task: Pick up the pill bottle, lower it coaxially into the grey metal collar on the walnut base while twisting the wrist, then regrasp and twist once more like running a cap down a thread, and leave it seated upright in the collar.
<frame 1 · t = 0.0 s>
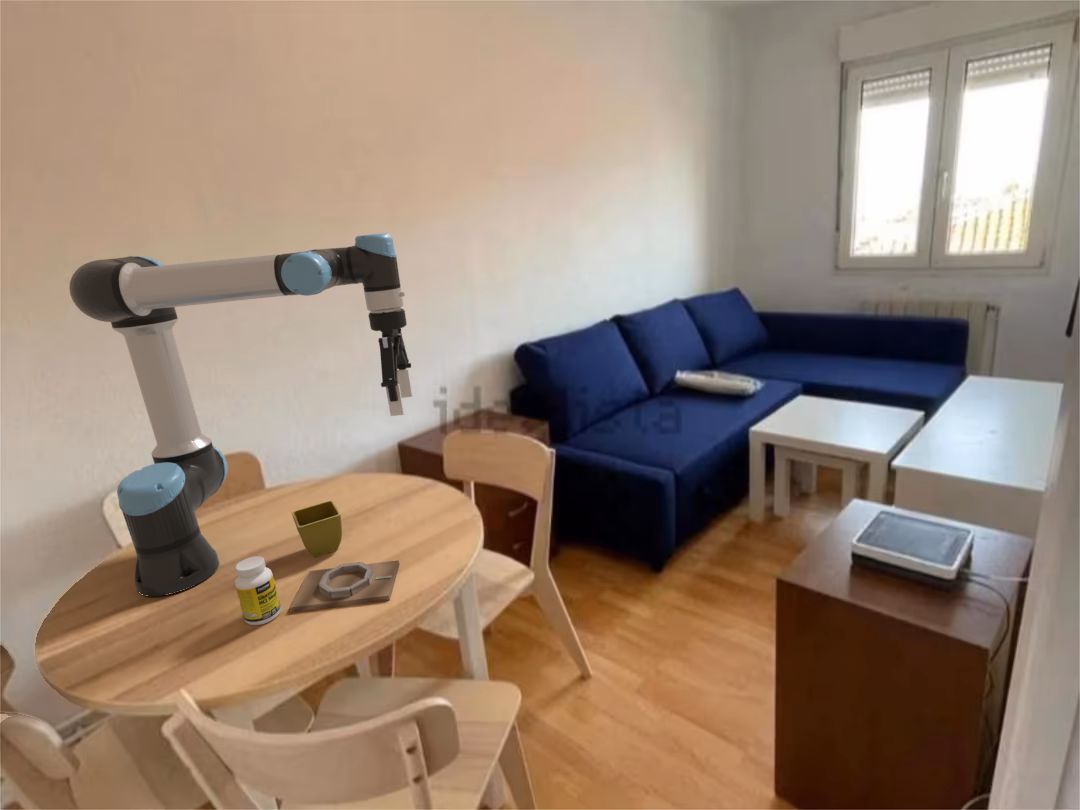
hand: (402, 405, 131), 28 cm above the table, fingers open, 13 cm apart
flower pot: (324, 550, 130), on the table
collar base: (348, 587, 115), on the table
pill bottle: (264, 616, 109), on the table
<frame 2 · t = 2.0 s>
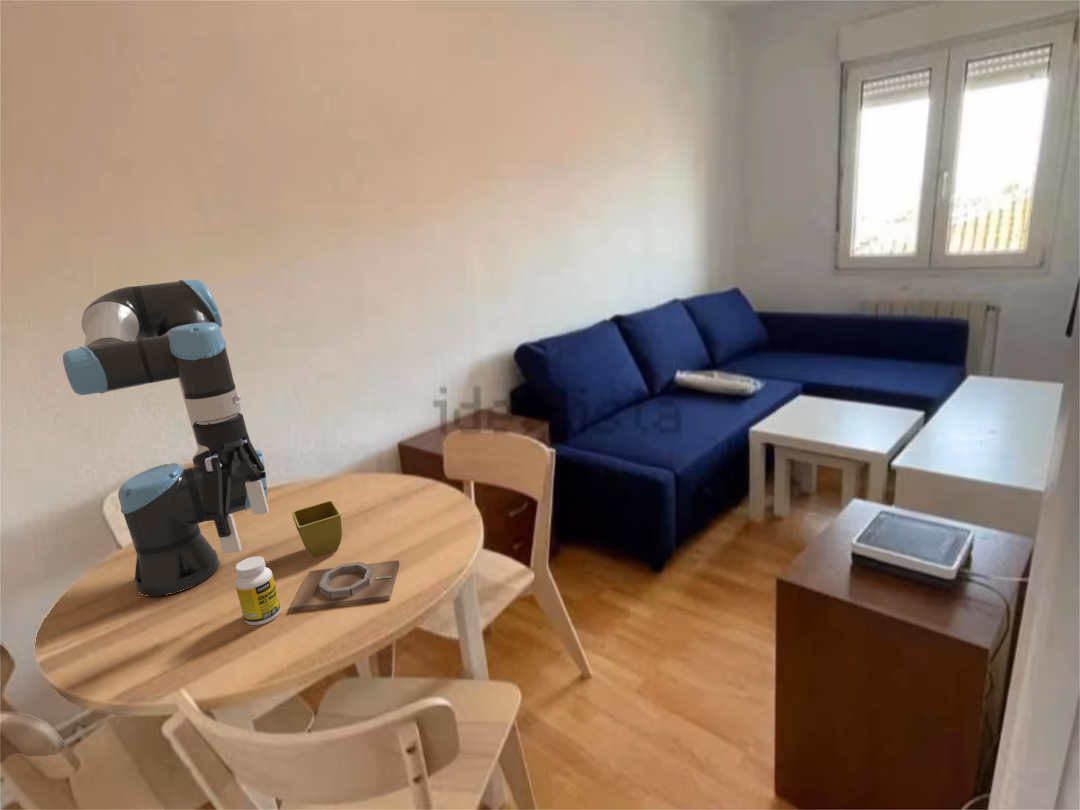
hand: (247, 531, 105), 17 cm above the table, fingers open, 13 cm apart
nothing on the table moved.
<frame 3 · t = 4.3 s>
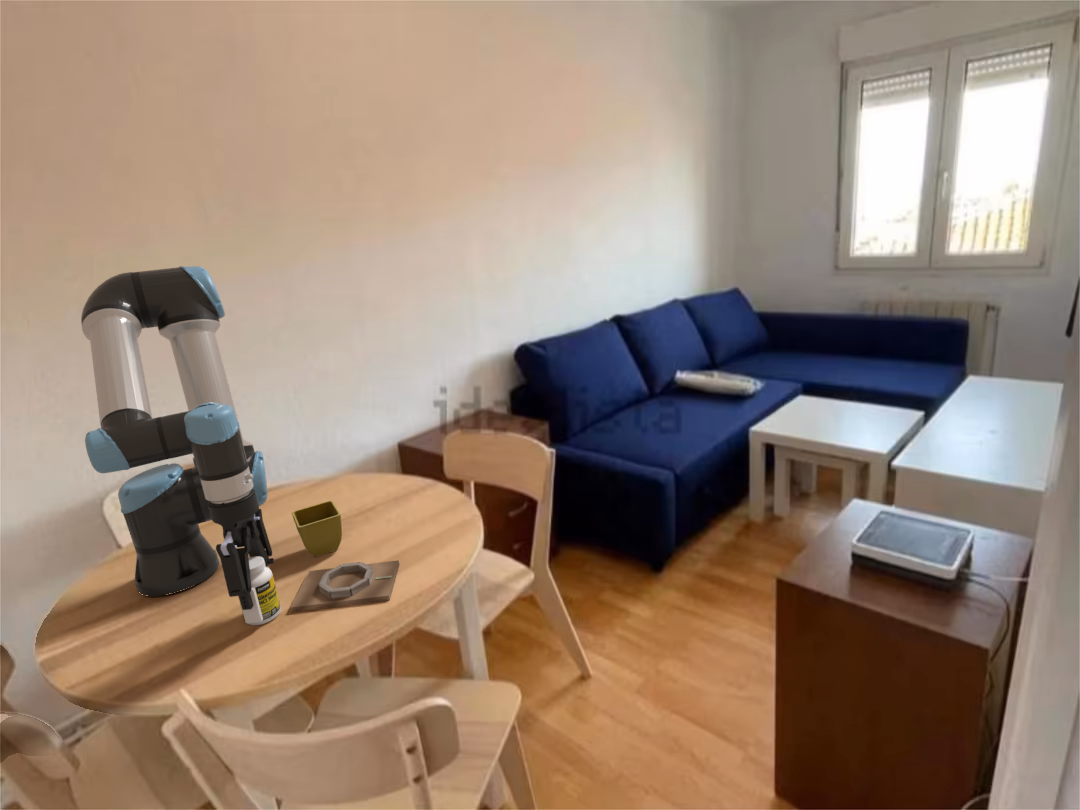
hand: (261, 608, 108), 1 cm above the table, fingers closed on pill bottle, 6 cm apart
pill bottle: (264, 616, 109), on the table, touching gripper
everything else where it was.
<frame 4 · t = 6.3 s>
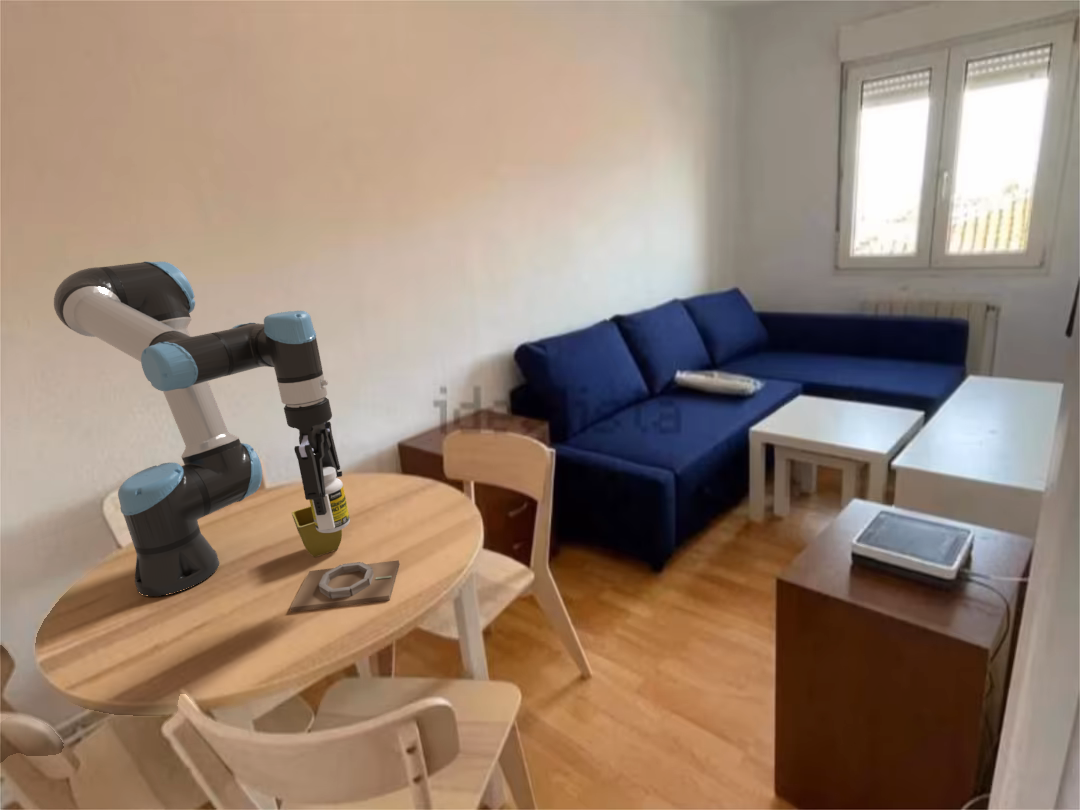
hand: (332, 519, 110), 15 cm above the table, fingers closed on pill bottle, 6 cm apart
pill bottle: (333, 526, 111), point 13 cm above the table, touching gripper
everything else where it was.
when the fingers open (3 cm above the table, at t = 8.4 s): pill bottle stays where it is, resting on collar base.
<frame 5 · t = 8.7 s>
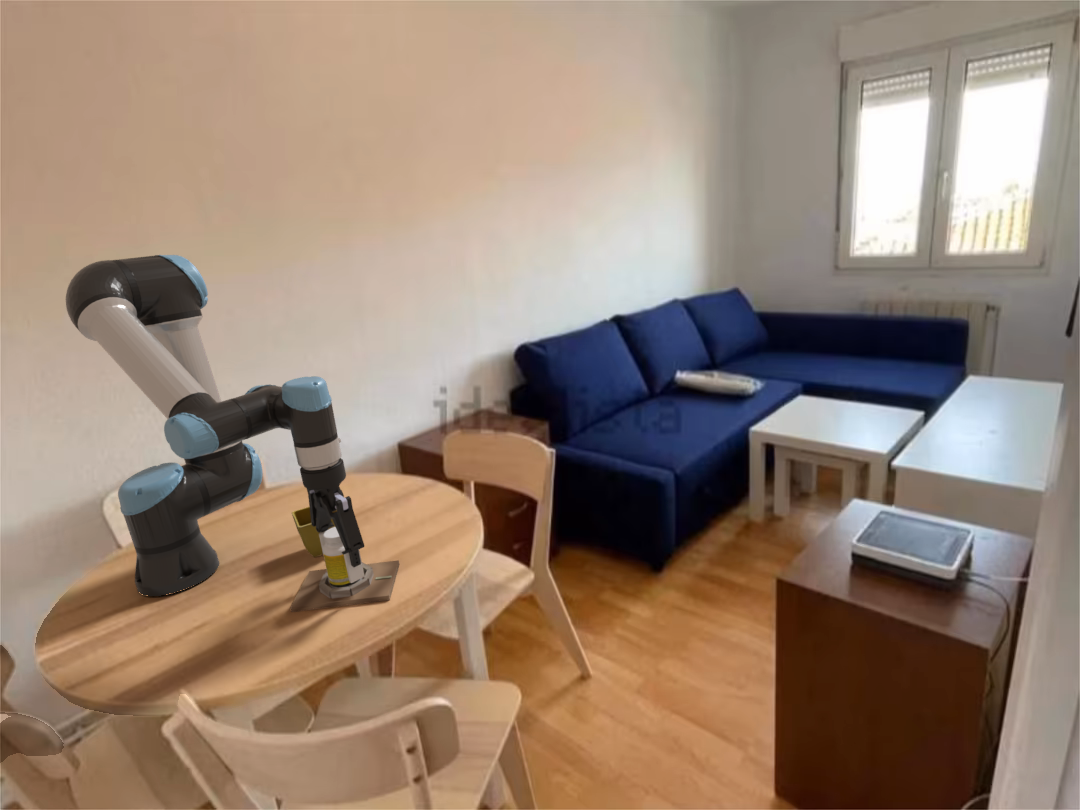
hand: (344, 569, 114), 4 cm above the table, fingers open, 9 cm apart
pill bottle: (347, 583, 115), point 1 cm above the table, touching collar base
everything else where it was.
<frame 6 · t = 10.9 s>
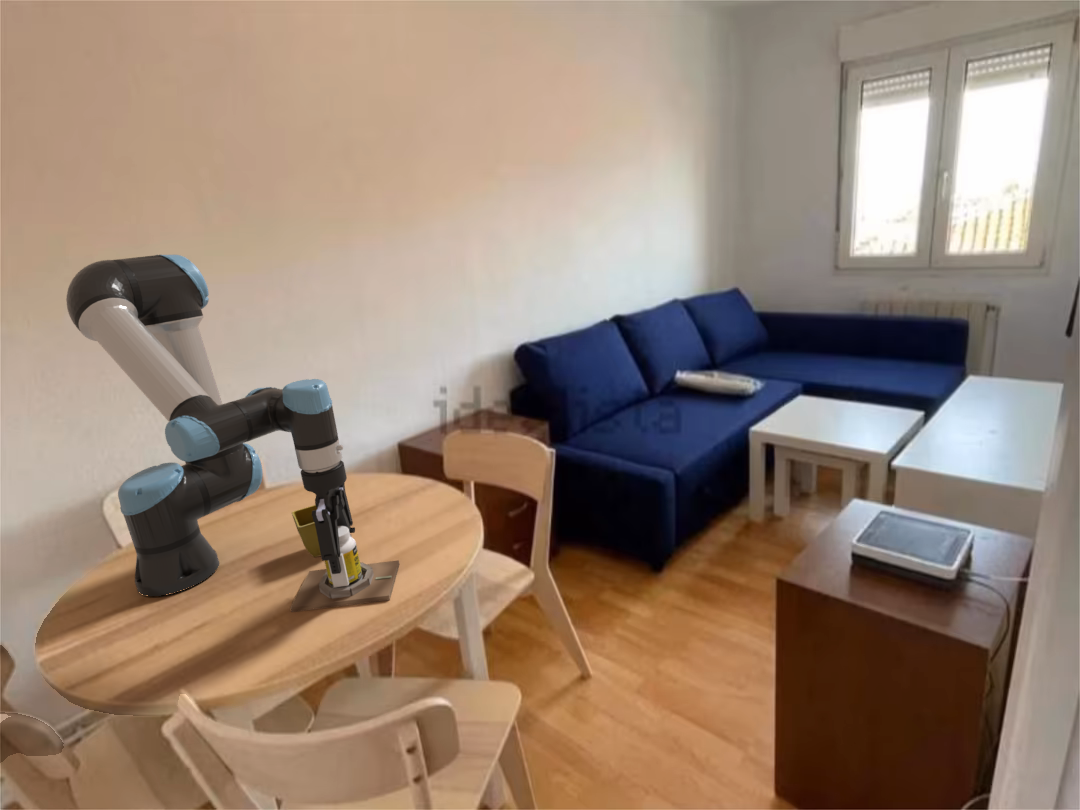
hand: (345, 574, 114), 3 cm above the table, fingers closed on pill bottle, 6 cm apart
pill bottle: (347, 583, 115), point 1 cm above the table, touching collar base, gripper
everything else where it was.
when the fingers open (3 cm above the table, at t = 11.7 s): pill bottle stays where it is, resting on collar base.
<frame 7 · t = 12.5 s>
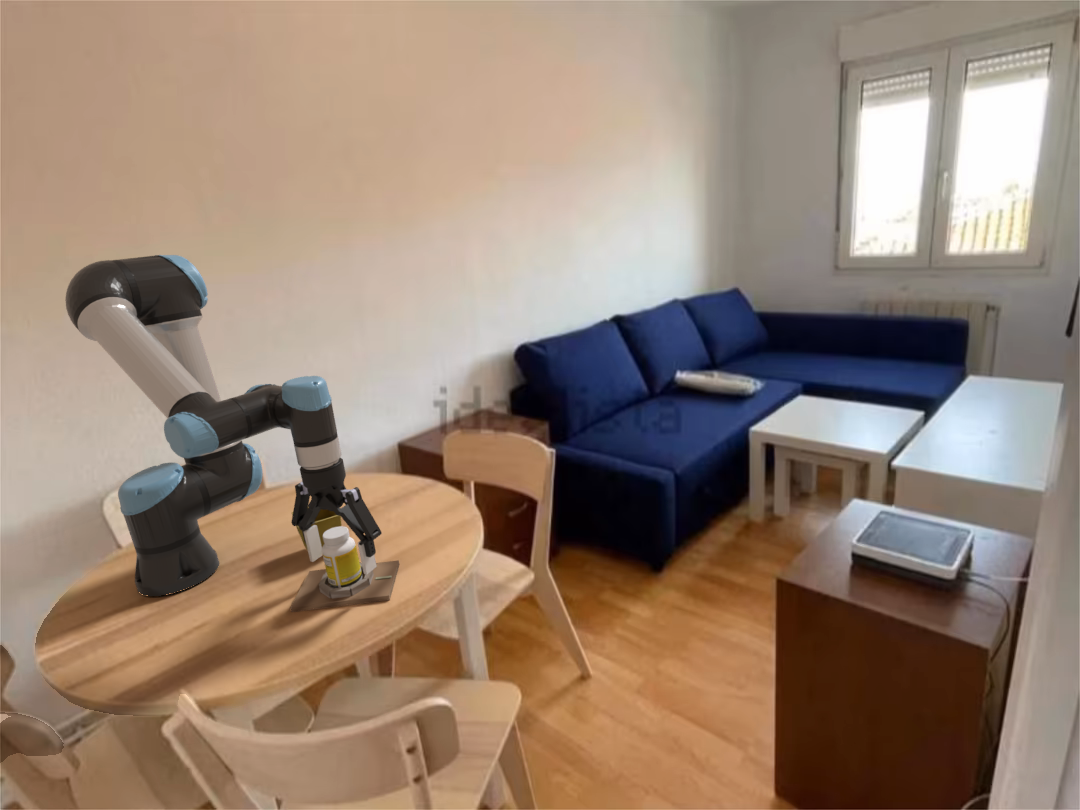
hand: (343, 564, 114), 5 cm above the table, fingers open, 13 cm apart
pill bottle: (346, 583, 115), point 1 cm above the table, touching collar base
everything else where it was.
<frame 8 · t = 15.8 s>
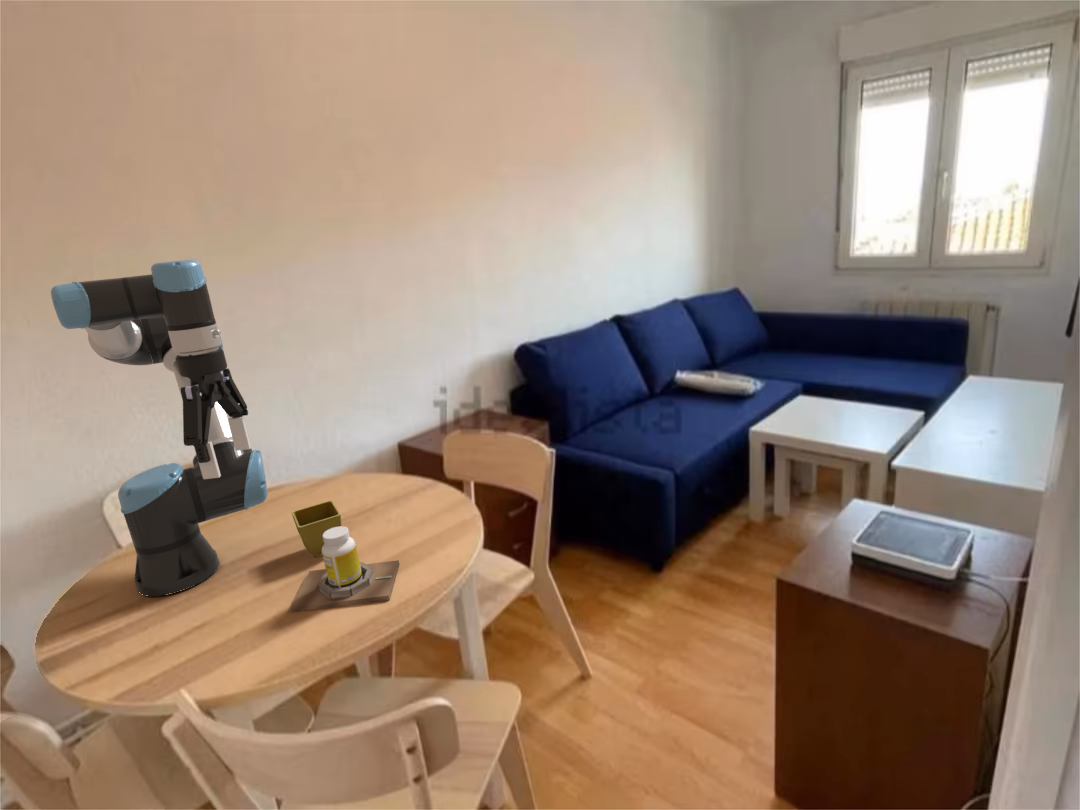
hand: (228, 462, 110), 27 cm above the table, fingers open, 13 cm apart
nothing on the table moved.
at the end: pill bottle 0.1 cm from the collar base (horizontally); pill bottle tilted 0°; the gripper is holding nothing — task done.
